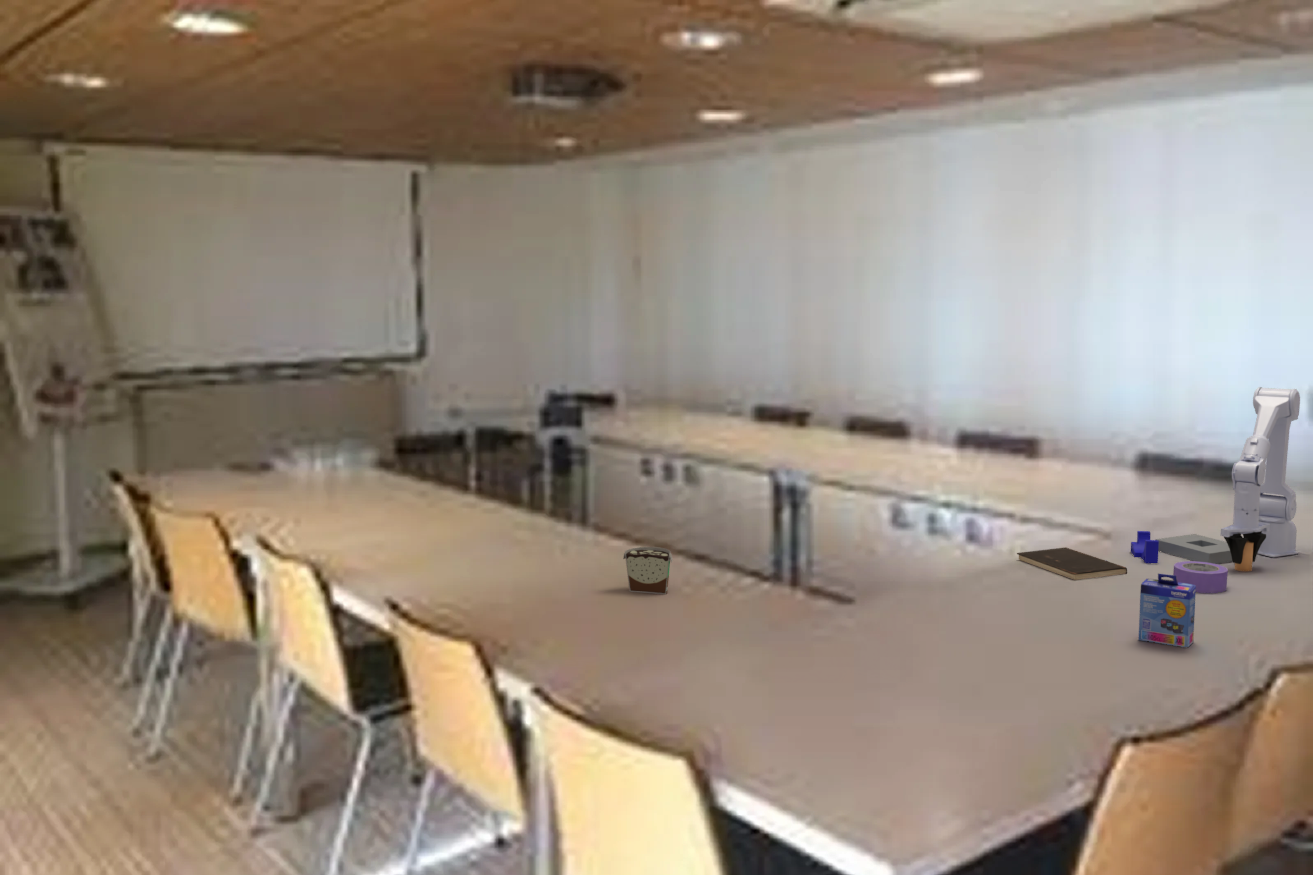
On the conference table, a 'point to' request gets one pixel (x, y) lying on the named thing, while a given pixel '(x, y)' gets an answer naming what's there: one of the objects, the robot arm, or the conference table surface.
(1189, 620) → the ink cartridge box
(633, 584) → the food container
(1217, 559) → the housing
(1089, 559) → the hardcover book
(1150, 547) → the cable clip
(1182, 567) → the tape roll
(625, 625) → the conference table surface
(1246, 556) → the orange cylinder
